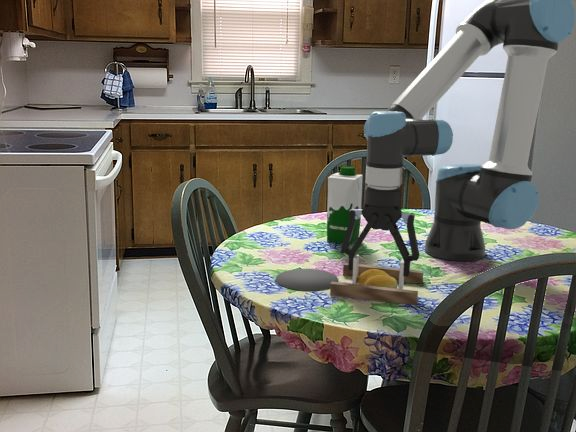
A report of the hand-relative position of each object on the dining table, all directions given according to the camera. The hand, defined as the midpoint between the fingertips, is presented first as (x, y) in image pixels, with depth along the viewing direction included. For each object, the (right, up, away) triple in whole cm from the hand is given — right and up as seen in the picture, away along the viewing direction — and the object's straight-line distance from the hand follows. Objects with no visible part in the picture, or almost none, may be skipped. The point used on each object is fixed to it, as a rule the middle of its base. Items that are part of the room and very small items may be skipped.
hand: (377, 287), depth 138 cm
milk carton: (-4, +9, +37) cm, 38 cm away
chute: (0, 0, 0) cm, 0 cm away
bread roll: (0, -1, 0) cm, 1 cm away
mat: (-15, +1, +4) cm, 16 cm away
